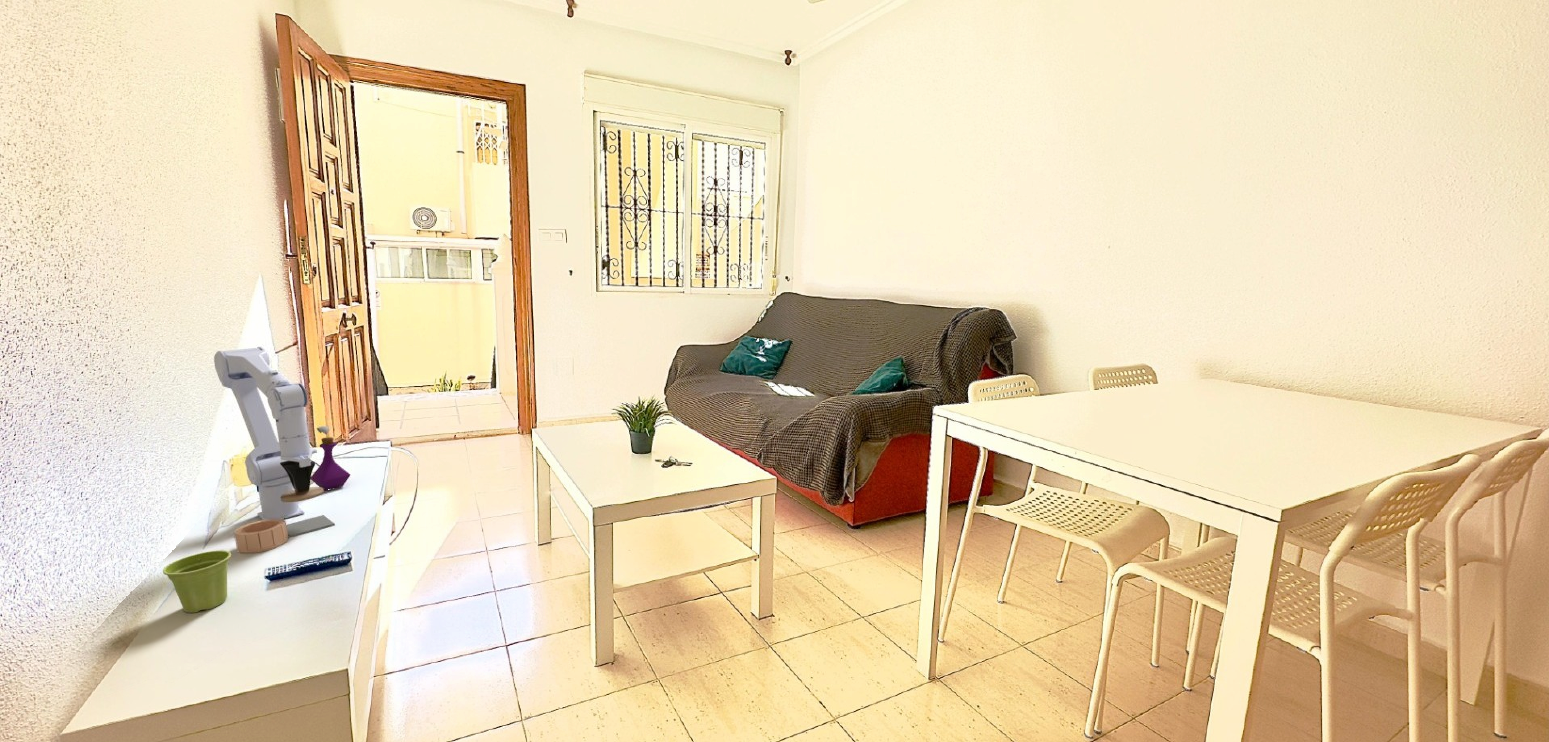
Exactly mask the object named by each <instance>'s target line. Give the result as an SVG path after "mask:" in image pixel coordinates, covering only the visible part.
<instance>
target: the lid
mask: <svg viewBox="0 0 1549 742" xmlns="http://www.w3.org/2000/svg"><path fill="white" fill-rule="evenodd" d="M294 487H295V484H294ZM324 493H325V491H324V489H323V488H321V487H319V486H310V488H309V491H305V492H301V493H299V492H298V491H297V489H296V487H295V490H294V491H290V492H287V493H285V494H283V495H282V496H281V501H282V502H298V503H299V502H302V501H303V502H304V501H306V500H311V499H312V500H313V499H314V498H317V497H319V496H322V495H323V494H324Z"/></svg>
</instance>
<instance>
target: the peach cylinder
mask: <svg viewBox="0 0 1549 742" xmlns="http://www.w3.org/2000/svg"><path fill="white" fill-rule="evenodd" d="M286 525H287V521H286V520H285V519H268V520H262V519H261V520H258V521H254V522H250V523H248V524H244V525H241V526H240V527H238V528H237V529H235V530H234V531H233V535H234V541H235V546H236V548H237V553H239V552H240V553H239V554H245V555H249V554H259V553H262V552H265V551H271V550H273V549H276V548H278V547H281V546H282V545H284V544H287V542H288V541H289V540H288V539H289V536H288V532H287V526H286Z"/></svg>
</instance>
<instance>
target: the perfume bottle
mask: <svg viewBox="0 0 1549 742" xmlns="http://www.w3.org/2000/svg"><path fill="white" fill-rule="evenodd" d="M316 430H317V431H318V433H320V434H322V433H323V434H324V435H325V436H326V437H322V438H321V443H320V444H319V448H322V449H323V459H322V461H321V463H320V465H319V466H318V467H317V469H316V470H315V471H314V473H312V474H311V479H310V481H311V482H313V483H314V485H316V486H317V487H321V488H323V490H324V489H326V490H325V491H329V490H328V489H331V490H334V489H333V488H335V489H338V488H341V487H340V486H342V487H344V485H345V484H346V483H347V481H348V480H349V478H350V477H351V473H349V471H346V470H345V469H344V468H343V467H342V466H340V464H338V463H337V462H336V460H335V459H334V457H333V449H334V448H335V446H337V442H335V441H334V437H332V436H329V437H328V433H329V431H330V427H329V426H328V425H322V426H319V427H317V428H316ZM337 487H338V488H337Z"/></svg>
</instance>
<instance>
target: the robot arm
mask: <svg viewBox="0 0 1549 742" xmlns="http://www.w3.org/2000/svg"><path fill="white" fill-rule="evenodd" d="M213 363H214V368H215V372H216V374H217V377H218V379H219V383H221V385H222V387H224V388H227V389H230V390H231V391H232V393H233V396H234V397H235V399H236V403H237V405H238V407H239V410H240V413H241V415H242V419H243V421H244V423H245V426H246V428H247V431H248V435H249V437H250V440H251V441H252V445H253V447H254V449H252V450H251V451H250V452H249V453H248V454H247V455H246V457H245V461H244V464H245V467H246V468H245V469H246V474H247V478H248V480H249V482H250V483H251V484H252V485H254V486H258V495H259V502H260V506H261V507H260V508H261V511H260V512H257V516H258V517H259V518H260V519H261V518H262V519H261V520H268V519H284V518H285V519H289V518H292V517H296V516H300V515H304V514H305V511H304V510H303V509H302V508H300V507H299V501H298V502H282V501H281V496H282V495H283V494H285V493H287V492H290V491H294V490H295V487H296V489H297V491H298V492H299V493H301V492H305V491H309V488H310V487H311V476H312V475H313V470H314V467H315V466H316V461H312V460H311V458H312V457H311V456H312V455H314V454H317V453H318V451H317V449H316V448H312V449H311V443H310V437H309V436H310V435H309V430H308V423H307V417H306V410H305V409H306V407H307V405H308V403H309V398H308V392H307V390H306V388H305V387H304V385H303V384H302V383H301V382H298V383H297V382H294V383H293V382H291V381H290V380H289V378H287V377H286V376H285V375H284V374H283V373H282V372H280V371H278V370H276V369H273V368H271V366H270V355H269V353H268V351H267V350H266V348H264V347H262V346H258V347H252V348H251V347H250V348H241V349H233V350H231V349H230V350H217V351H216V353H215V354H214V356H213ZM259 390H260V392H261V393H262V394H263V395H265V396H266V398H267V403H268V407H269V408H270V411H271V412H270V413H271V415H272V418H273V419H274V421H275V425H276V431H277V436H276V433H275V431H274V428H273V426H272V423H271V422H272V421H271V420H270V418H269V414H268V412H267V410H266V407H265V404H264V402H263V400H262V397H261V395H260V392H259ZM277 437H278V438H277ZM294 484H295V487H294ZM285 519H284V520H285Z"/></svg>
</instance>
